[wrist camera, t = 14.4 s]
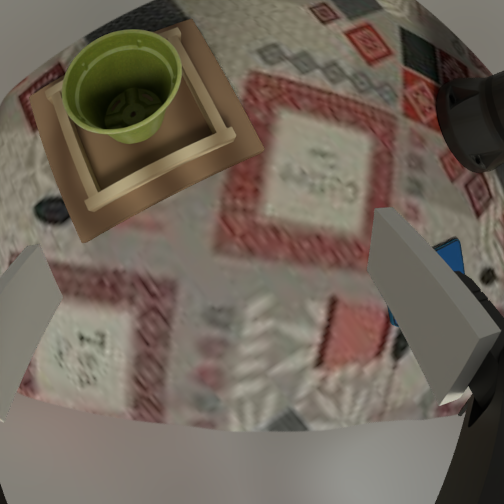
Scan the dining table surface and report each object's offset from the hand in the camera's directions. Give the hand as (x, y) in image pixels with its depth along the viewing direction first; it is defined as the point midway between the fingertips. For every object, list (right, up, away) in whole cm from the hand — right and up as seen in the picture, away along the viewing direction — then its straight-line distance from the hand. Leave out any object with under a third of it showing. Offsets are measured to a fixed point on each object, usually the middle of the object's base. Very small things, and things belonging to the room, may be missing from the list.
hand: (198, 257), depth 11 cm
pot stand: (-10, +14, +18) cm, 24 cm away
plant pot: (-10, +14, +16) cm, 23 cm away
